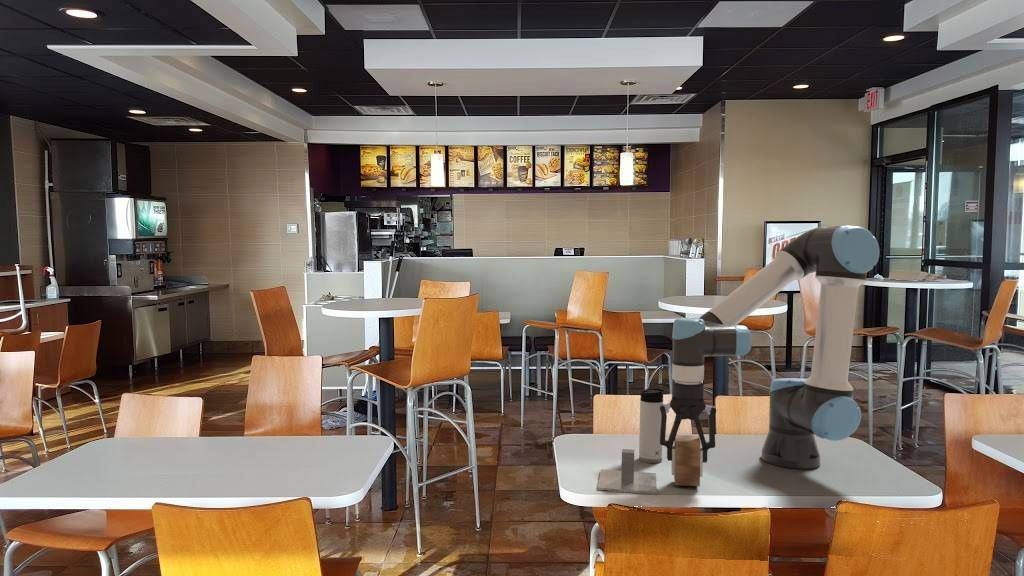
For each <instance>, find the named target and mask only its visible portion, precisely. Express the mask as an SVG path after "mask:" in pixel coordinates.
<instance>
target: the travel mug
mask: <svg viewBox="0 0 1024 576" xmlns="http://www.w3.org/2000/svg"><path fill="white" fill-rule="evenodd" d="M665 392H666V389H665V388H657V387H655V388H653V387H652V388H646V389H642V390H641V391H640V398H639V399H640V400H639V439H638V440H639V444H638V445H639V446H638V447H639V448H638V459H639V461H640V462H643V463H647V464H660V463H661V462H662V461H663V445H661V444H660V429H661V411H660V404H664V393H665Z"/></svg>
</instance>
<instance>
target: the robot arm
mask: <svg viewBox="0 0 1024 576" xmlns="http://www.w3.org/2000/svg"><path fill="white" fill-rule="evenodd" d="M774 256H775V258H774V259H773V260H771V261H770V262H769V263H768V264H767V265H765V266H764V267H763V268H761V269H760V270H759V271H757V272H756V273H755V274H754V275H752V276H751V277H750V278H749V279H747V280H746V281H745V282H743V283H742V284H741V285H740V286H737V288H736V289H734V290H733V291H732V292H731V293H730V294H728V295H727V296H725V297H724V298H723V299H722V300H720V301H719V302H718V303H717V304H715V305H714V306H713V307H711V308H710V309H709V310H708V311H706V312H705V313H703V314H702V315H701V316H700V317H699V318H698V317H679V318H675V320H674V321H673V326H672V335H671V338H672V339H671V340H672V362H671V364H672V366H671V369H672V371H671V374H672V375H671V378H672V380H673V382H672V383H671V384H672V385H671V400H669V402H668V403H665V404H664V403H663V404H660V411H661V429H660V444H661V445H662V447H665V448H666V460H667V461H671V475H672V476H674V475H675V446H674V440H675V437H676V435H678V431H679V428H680V425H681V423H682V420H689V421H690V420H691V421H694V424H695V427H696V430H697V434H698V435H697V436H699V439H700V478H703V474H704V473H703V471H704V470H703V466H704V465H703V463H705V464H707V462H708V451H709V449H715V447H716V429H715V428H716V427H715V416H716V413H717V408H716V406H715V405H709V404H706V402H705V400H704V396H705V395H704V394H705V393H704V392H705V391H704V388H705V387H704V386H705V385H704V383H703V381H704V379H705V357H706V358H707V357H708V358H709V357H737V356H738V357H739V356H745V355H747V354H748V353H749V352H750V350H751V349H752V344H753V343H752V342H753V338H752V337H753V336H752V334H751V331H750V329H749V328H748V327H747V326H745V325H744V324H743V325H739V324H740V323H741V322H743V320H744V319H746V318H747V317H749V316H750V315H751V314H752V313H753V312H755V311H756V310H758V309H759V308H760V307H761V306H763V305H764V304H765V303H767V302H768V301H769V300H770V299H772V298H773V297H774V296H775V295H777V294H778V293H779V292H781V291H782V290H783V289H784V288H785V287H787V286H788V285H790V284H791V283H792V282H794V281H801V280H802V279H803V278H805V277H806V276H808V275H810V274H812V273H815V279H817V281H818V282H819V284H820V289H819V290H820V291H819V298H818V299H819V300H818V310H817V318H816V327H815V335H814V345H813V353H812V364H811V372H810V375H809V377H808V378H804V377H803V378H801V377H800V378H799V377H784V378H783V377H782V378H781V377H780V378H775V379H772V380H771V382H770V386H769V392H768V394H769V415H768V416H769V419H768V422H769V423H768V431H767V435H766V437H765V440H764V442H763V445H762V447H761V459H762V461H765V462H766V463H768V464H771V465H774V466H776V467H777V466H778V467H782V468H788V469H797V470H800V469H801V470H806V469H807V470H808V469H816V468H819V467H820V466H821V454H820V450H819V448H818V444H817V440H816V437H817V438H820V439H824V440H829V441H833V442H837V441H842V440H843V441H844V440H846V439H847V438H849V437H850V436H851V435H853V434H854V433H855V432H856V431H857V429H858V427H859V426H860V424H861V419H862V410H861V407H860V406H859V405H858V403H857V402H856V401H855V400H854V399H853V398H854V397H853V396H854V387H853V386H852V385H851V383H850V382H849V381H848V380H849V374H850V373H849V371H850V363H851V355H852V345H853V336H854V328H855V320H856V319H855V318H856V312H857V311H856V310H857V302H858V301H857V300H858V292H859V287H860V286H862V285H863V284H864V283H866V281H867V275H868V274H867V273H868V272H869V271H871V270H873V269H874V267H875V266H876V265H877V263H878V262H879V258H880V245H879V242H878V240H877V239H876V237H875V236H874V235H873V233H872V232H871V231H870V230H868V229H867V228H864V227H862V226H860V225H859V226H856V225H837V226H836V225H835V226H823V227H822V226H821V227H820V226H819V227H815V228H811V229H809V230H807V231H805V232H803V233H802V234H800V235H799V236H797V237H796V238H794V239H793V240H791V241H790V242H789V243H787V244H785V246H783V247H782V248H780V250H778V251H777V252H775V255H774ZM670 409H671V410H672V411H673V412H674V414H675V417H674V419H673V420H674V422H673V424H672V427H671V429H670V434H669V436H668V439H666V435H667V432H666V431H667V420H668V419H667V417H668V415H667V414H668V413H669V412H670ZM704 410H705V412H706V415H708V416H707V419H708V420H707V421H708V441H707V440H706V438H705V434H704V431H703V428H702V425H701V421H700V417H699V416H700V415H701V414H702V412H704ZM815 436H816V437H815Z"/></svg>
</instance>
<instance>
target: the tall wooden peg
mask: <svg viewBox="0 0 1024 576" xmlns="http://www.w3.org/2000/svg"><path fill="white" fill-rule="evenodd" d="M673 446H675V475H673V478H674V486H688V487H700V486H701V477H700V447H701V441H700V438H699V435H691V434H689V435H687V434H676V437H675V440H674V443H673Z"/></svg>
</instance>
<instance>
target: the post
mask: <svg viewBox="0 0 1024 576" xmlns="http://www.w3.org/2000/svg"><path fill="white" fill-rule="evenodd" d="M596 490H597V491H602V490H609V491H608V492H615V491H620V492H619V493H628V492H631V493H632V494H644V495H658V490H657V473H655V472H645V471H644V472H643V471H641V472H640V471H635V449H631V448H630V449H628V448H622V449H621V470H616V469H615V470H614V469H604V468H601V469H600V473H599V478H598V484H597V489H596ZM631 493H630V494H631Z"/></svg>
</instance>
